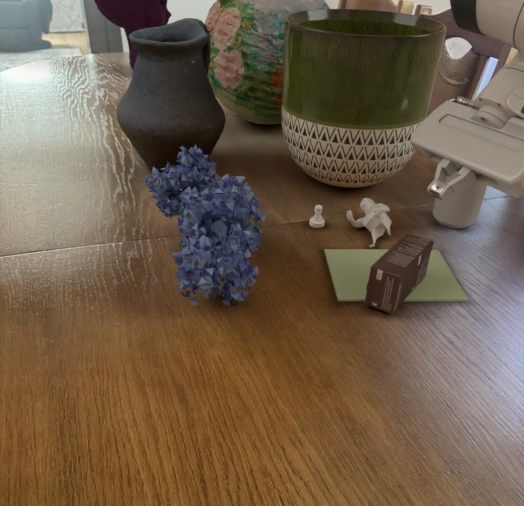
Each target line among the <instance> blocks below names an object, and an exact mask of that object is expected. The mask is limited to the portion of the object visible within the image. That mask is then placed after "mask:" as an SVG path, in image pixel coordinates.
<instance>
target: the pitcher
mask: <svg viewBox="0 0 524 506" xmlns="http://www.w3.org/2000/svg"><path fill="white" fill-rule="evenodd" d="M204 23H205V22H204V21H202V20H201V19H199V18H193V17H184V18H181V19H178V20H176V21H173V22H170V23H168V24H167V25H163V26H160V27H151V28H145V29H140V30H137V31H134V32H132V33H131V34H130V35H129V40H130V42H131V44H132V45H133V47H134V48H135V49H136V51H137V54H138V55H137V59H136V62H135V65H134V70H132V76H131V80H130V82H129V84H128V87H127V89H126V90H125V92H124V93H123V95H122V96H121V98H120V99H119V102H118V104H117V106H116V118H117V123H118V125H119V128H120V129H121V130H122V132H123V133H124V135H125V136H126V138H127V139H128V140H129V143H131V145H132V147H133V149H134V151H136V153H137V155H138V156H139V158H140V159H141V160H142V161H143V163H144V164H145V165H146V167H147V168H148V169H149V171H151V172H152V171H153V167H154V168H156V169H158V171H159V172H160V174H161V173H162V172H163V173H164V171H163V170H161V169H162V168H166V167H167V166H166V165H167V164H168V162H169V163H170V165H171V166H172V165H174V164H175V165H174V167H176V166H177V165H180V166H182V165H181V163H180V162H177V160H179V158H177V156H178V154H179V152H182V150H181V148H180V147H182V146H184V147H185V148H186V149H187V153H188V154H190V153H189V151H188V150H189V149H190V148H191V147H192V148H194V146H195V144H196V147H197V150H198V149H199V148H200V150H202V153H203V155H209V156H208V158H207V159H208V160H210V158H211V155H212V153H213V151H214V149H215V147H216V145H217V143H218V141H219V140H220V138H221V136H222V133H223V131H224V130H225V125H226V121H227V119H226V114H225V111H224V109H223V107H222V104H221V103H220V101H219V100H218V98H217V97H216V96H215V94H214V92H213V89H212V86H211V84H210V81H209V79H208V76H207V75H208V71H209V65H210V55H211V47H210V36H209V32H208V29H207V26H206V25H205V24H204ZM197 155H198V154H197ZM198 158H200V157H199V156H198ZM167 161H168V162H167ZM183 166H184V165H183ZM168 167H170V166H168ZM184 168H185V166H184ZM186 168H187V167H186ZM188 168H190V167H188ZM193 169H194V168H193ZM200 169H201V168H200ZM197 170H198V168H197ZM163 173H162V174H163Z"/></svg>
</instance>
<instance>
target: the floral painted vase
mask: <svg viewBox="0 0 524 506" xmlns="http://www.w3.org/2000/svg"><path fill="white" fill-rule="evenodd" d="M317 9H331V7H330V6H329V4H328V3H327V2H326V1H325V0H216V1H214V3H213V4H211V7H210V8H209V10H208V13H207V16H206V17H205V21H204V22H203V23H204V24H205V25H206V26H207V29H208V32H209V36H210V47H211V55H210V65H209V71H208V75H207V76H208V79H209V81H210V84H211V86H212V89H213V92H214V94H215V97H216V99H217V101H218V102H219V103H220V104H221V105H223V107H225V108H226V109H228V110H229V111H230V112H231V113H232V114H234V115H236V116H238V117H240V118H241V119H243V120H245V121H248V122H250V123H253V124H257V125H282V121H281V108H282V75H283V41H284V23H285V17H286V16H287V15H289V14H291V13H294V12H299V11H306V10H317Z"/></svg>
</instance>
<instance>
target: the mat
mask: <svg viewBox="0 0 524 506" xmlns="http://www.w3.org/2000/svg"><path fill="white" fill-rule="evenodd" d="M389 249H390V248H389ZM389 249H388V248H384V249H382V248H381V249H378V248H377V249H373V248H367V249H365V248H324V249H323V253H324V256H325V259H326V260H325V261H326V263H327V267H328V271H329V275H330V278H331V281H332V285H333V290H334V292H335V296H336V299H337V302H338V303H358V302H359V303H365V298H366V292H367V290H366V288H367V283H368V281H369V275H370V269H371V266H372V265H373V264H374V263H375V262H376V261H377V260H378V259H379V258H381V257H382V256H383V255H384V254H385V253H386V252H387V251H388V250H389ZM412 302H414V303H420V302H421V303H424V302H425V303H429V302H431V303H434V302H435V303H443V302H444V303H448V302H449V303H453V302H454V303H456V302H457V303H464V302H465V303H467V302H469V298H468V296H467V295H466V293H465V291H464V290H463V288H462V286H461V284H460V282H458V279H457V278H456V276H455V275H454V273H453V271H452V269H451V268H450V266H449V265H448V263H447V262H446V260H445V258H444V256H443V255H442V253H441V251H440V250H439V249H432V250H431V254H430V258H429V262H428V267H427V271H426V276H425V277H424V279H423V280H422V281H421V282H420V283H419V284H418V285H417V287H416V288H415V289H414V290H413V291H412V292H411V293H410V294H409V295H408V296H407V298H406V299H405V300H404V301H403V302H402V303H412Z"/></svg>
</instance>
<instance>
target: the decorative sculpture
mask: <svg viewBox="0 0 524 506" xmlns="http://www.w3.org/2000/svg"><path fill="white" fill-rule="evenodd" d="M180 148H181V150H182V152H179V154H178V156H177V158H179V160H177V162H180V163H181V165H182V166H180V165H177V166H176V167H174V165H175V164H174V165H172V166H171V165H170V163H169V162H168V161H167V162H168V164H167V165H166V166H167V167H166V168H162V169H161V170H163V171H164V173H163V172H162V173H160V172H159V171H158V169H156V168H154V167H153V171H151V175H148V176H146V175H145V176H143V182H144V183H145V184H146V185H145V186H146V187H147V188H148V191H147V193H151V194H150V198H153V199H154V200H157V202H156V201H154V202H155V206H156V207H157V208H158V209H159V210H158V212H159V213H160V212H161V214H162V216H165V218H169V219H172V218H173V217H174V216H180V217H176V219H177V229H178V233H179V234H180V235H181V236H182V237H183V238H182V239H180V240H178V241H177V242H178V243H180V244H179V248H182V250H181V251H177V250H176V249H175V252H174V253H172V254H170V257H172V258H173V261H174V264H175V265H176V268H177V269H178V270H177V271H175V272H174V273H175V277H176V279H177V281H178V283H177V286H176V291H177V294H179V293H181V296H182V297H183V298H188V299H189V304H191V305H193V306H195V307H196V304H197V303H198V299H197V297H198V296H199V294H200V293H201V292H202V293H203V294H202V299H201V300H205V299H210V300H212V297H213V302H212V303H215V299H216V296H214V294H215V293H218V294H219V295H221V297H223V298H224V300H223V301H221V303H222V304H223V306H227V307H231V304H232V305H233V304H237V302H243V301H245V299H244V298H245V297H247V296H248V294H250V292H249V291H247V290H244V289H248V290H249V289H251V288H252V287H253V286H252V285H254V284H255V282H256V280H257V277H258V276H259V269H258V266H254V267H251V265H250V264H251V262H250V257H251V258H252V253H255V252H256V251H258V250H260V249H259V248H261V247H262V246H261V245H262V238H263V236H264V233H263V232H262V230H261V228H262V225H261V224H260V223H259V222H260V221H261V222H263V223H265V219H266V214H263V213H262V212H261V211H260V208H259V206H260V199H258V198H257V197H256V196H255V195H254V194H255V192H253V190H252V186H251V185H249V182H244V181H245V179H246V176H242V175H238V176H237V175H232V176H230V175H229V173H227V174H225V175H223V176H220V175H218V174H217V173H216V166H217V163H215V162H214V161H213V160H211V159H212V158H209V159H207V158H208V156H209V155H203V153H202V150H200V148H199V149H198V150H197V147H196V144H195V146H194V148H192V147H191V148H190V149H189V150H188V151H189V153H190V154H188V153H187V149H186V148H185V147H184V146H182V147H180ZM197 154H198V155H197ZM198 156H199V157H200V158H198ZM183 165H184V166H185V168H184V166H183ZM168 166H170V167H168ZM186 167H187V168H186ZM188 167H190V168H188ZM193 168H194V169H193ZM197 168H198V170H197ZM200 168H201V169H200ZM213 175H214V177H213ZM243 182H244V183H243ZM250 220H252V221H250ZM253 223H254V224H255V225H254V224H253ZM261 236H262V237H261ZM218 242H219V243H220V244H219V245H218ZM196 263H197V265H196ZM222 276H223V277H222ZM230 278H232V279H230ZM236 287H241V289H239V290H238V289H237V288H236ZM189 289H191V290H189ZM181 290H182V291H181ZM184 292H185V293H184ZM191 293H192V295H195V296H193V297H191Z"/></svg>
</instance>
